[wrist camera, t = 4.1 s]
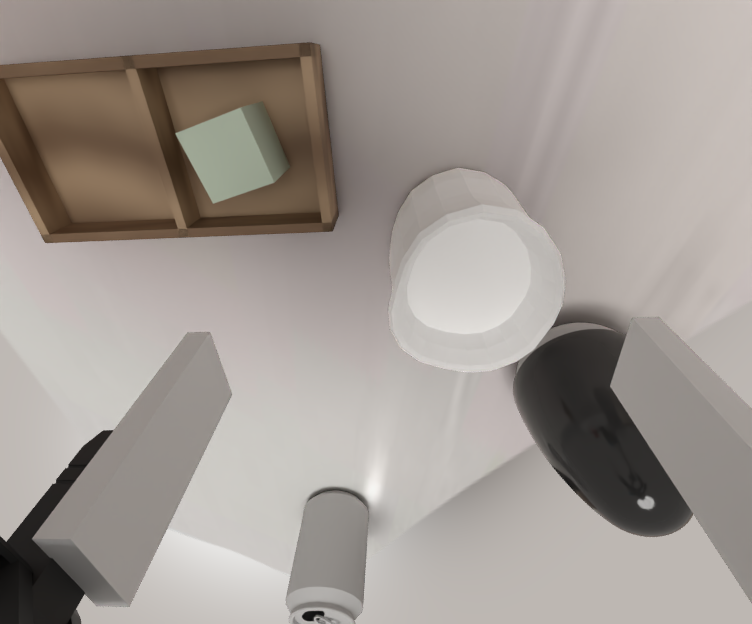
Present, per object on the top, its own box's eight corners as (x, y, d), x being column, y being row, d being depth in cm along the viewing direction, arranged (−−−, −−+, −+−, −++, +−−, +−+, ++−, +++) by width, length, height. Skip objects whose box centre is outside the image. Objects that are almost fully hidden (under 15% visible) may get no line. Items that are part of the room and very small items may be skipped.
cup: (410, 309, 33) (415, 393, 24) (366, 193, 28) (352, 248, 20) (530, 274, 31) (579, 353, 22) (504, 142, 26) (554, 180, 18)
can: (325, 477, 45) (303, 599, 35) (381, 501, 47) (377, 624, 36) (295, 509, 48) (267, 629, 38) (348, 530, 50) (336, 650, 40)
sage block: (205, 123, 25) (175, 133, 22) (262, 101, 24) (240, 107, 21) (236, 185, 27) (213, 203, 24) (290, 167, 26) (274, 182, 23)
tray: (2, 67, 25) (-46, 68, 22) (319, 44, 23) (309, 42, 21) (76, 226, 30) (45, 243, 27) (338, 215, 29) (332, 231, 26)
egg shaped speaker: (640, 374, 35) (780, 556, 22) (522, 411, 38) (587, 590, 25) (617, 282, 31) (777, 442, 18) (486, 331, 33) (541, 499, 21)
